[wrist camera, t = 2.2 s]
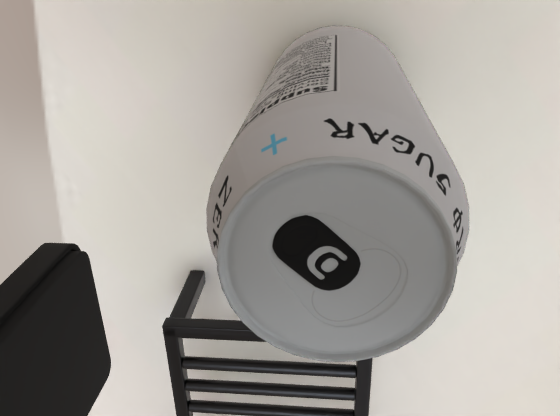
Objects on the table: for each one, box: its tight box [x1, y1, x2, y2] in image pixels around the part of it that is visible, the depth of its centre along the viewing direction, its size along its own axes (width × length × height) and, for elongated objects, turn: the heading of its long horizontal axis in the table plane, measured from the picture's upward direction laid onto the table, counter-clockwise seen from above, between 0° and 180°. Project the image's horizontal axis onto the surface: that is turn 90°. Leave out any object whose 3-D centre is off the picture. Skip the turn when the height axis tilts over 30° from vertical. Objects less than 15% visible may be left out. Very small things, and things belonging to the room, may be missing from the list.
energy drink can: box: [207, 25, 469, 362], centre depth 17 cm, size 6×6×15 cm
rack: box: [162, 271, 372, 416], centre depth 29 cm, size 14×10×5 cm
